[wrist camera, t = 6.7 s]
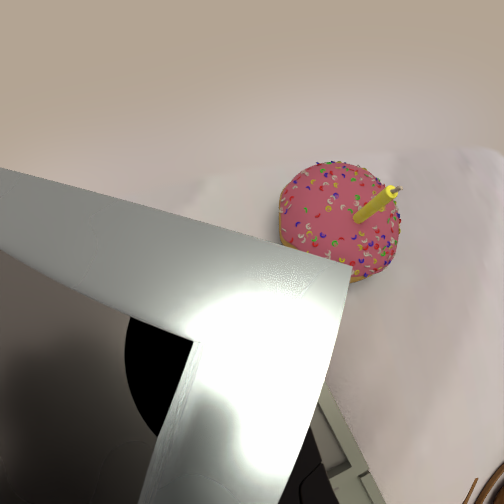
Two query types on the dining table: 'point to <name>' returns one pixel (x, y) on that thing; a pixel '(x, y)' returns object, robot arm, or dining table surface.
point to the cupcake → (341, 217)
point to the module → (152, 352)
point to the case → (342, 454)
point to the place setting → (503, 498)
